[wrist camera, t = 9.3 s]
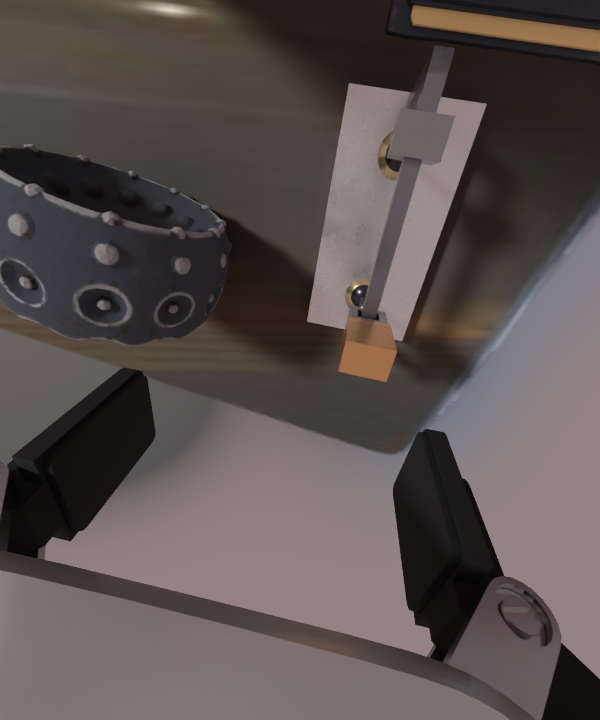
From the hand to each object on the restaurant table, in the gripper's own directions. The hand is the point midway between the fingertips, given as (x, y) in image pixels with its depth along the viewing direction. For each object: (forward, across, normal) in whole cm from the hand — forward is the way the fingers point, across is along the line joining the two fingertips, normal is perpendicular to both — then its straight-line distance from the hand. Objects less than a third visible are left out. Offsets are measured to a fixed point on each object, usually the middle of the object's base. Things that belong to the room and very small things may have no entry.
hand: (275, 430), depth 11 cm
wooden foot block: (+27, -5, +4) cm, 27 cm away
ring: (+30, +19, +1) cm, 36 cm away
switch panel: (+29, -5, -3) cm, 30 cm away
